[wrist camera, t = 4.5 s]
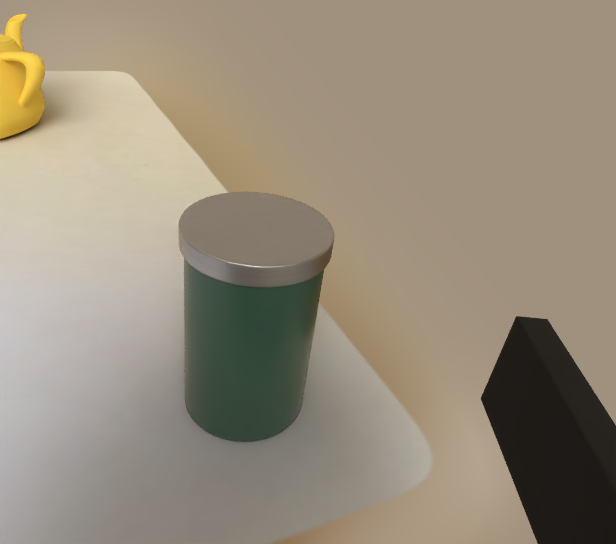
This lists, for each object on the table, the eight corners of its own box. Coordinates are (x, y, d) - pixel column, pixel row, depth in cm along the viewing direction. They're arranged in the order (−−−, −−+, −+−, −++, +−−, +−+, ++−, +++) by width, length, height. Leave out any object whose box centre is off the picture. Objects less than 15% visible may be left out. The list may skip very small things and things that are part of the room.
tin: (330, 412, 27) (366, 244, 21) (218, 467, 23) (226, 283, 18) (264, 339, 31) (280, 183, 26) (160, 377, 27) (153, 205, 22)
